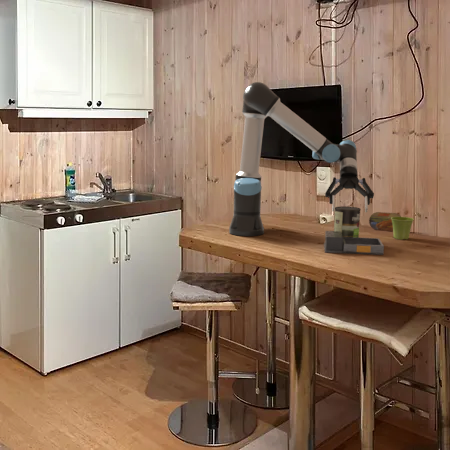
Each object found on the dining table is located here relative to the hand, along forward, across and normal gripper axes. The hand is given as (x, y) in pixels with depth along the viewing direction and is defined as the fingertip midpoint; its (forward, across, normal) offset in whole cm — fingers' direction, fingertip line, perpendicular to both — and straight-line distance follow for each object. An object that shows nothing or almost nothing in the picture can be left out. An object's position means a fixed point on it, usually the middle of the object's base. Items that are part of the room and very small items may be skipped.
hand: (349, 210), depth 245 cm
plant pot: (+5, -22, -13) cm, 27 cm away
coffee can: (+14, +2, -4) cm, 14 cm away
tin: (-8, -19, -27) cm, 34 cm away
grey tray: (+24, 0, +7) cm, 25 cm away
